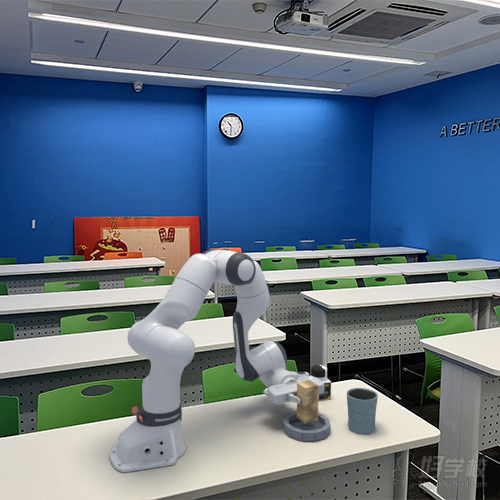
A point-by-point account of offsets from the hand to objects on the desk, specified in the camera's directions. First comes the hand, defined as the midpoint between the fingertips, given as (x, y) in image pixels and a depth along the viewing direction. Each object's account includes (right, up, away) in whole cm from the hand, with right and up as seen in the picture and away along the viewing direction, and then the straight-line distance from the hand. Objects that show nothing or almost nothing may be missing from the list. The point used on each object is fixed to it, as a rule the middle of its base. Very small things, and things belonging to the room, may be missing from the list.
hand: (309, 399), depth 160 cm
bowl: (-1, -11, +2) cm, 11 cm away
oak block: (0, -7, +2) cm, 7 cm away
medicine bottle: (+7, -8, +28) cm, 30 cm away
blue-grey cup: (+18, -11, +4) cm, 21 cm away
